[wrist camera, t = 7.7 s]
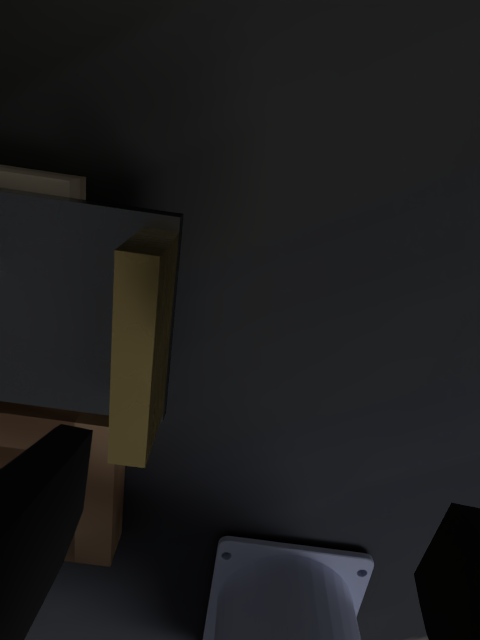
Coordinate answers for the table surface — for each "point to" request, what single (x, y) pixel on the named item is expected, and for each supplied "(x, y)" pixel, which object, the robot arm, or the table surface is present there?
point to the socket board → (43, 182)
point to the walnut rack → (102, 481)
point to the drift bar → (89, 311)
